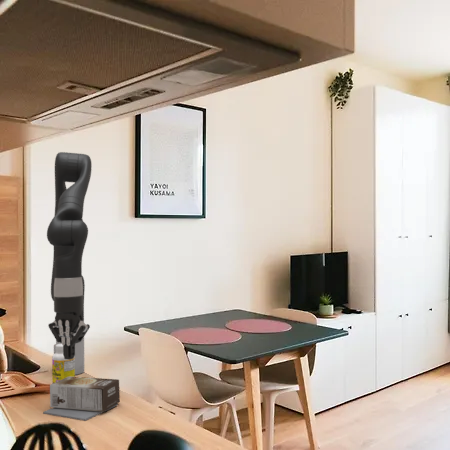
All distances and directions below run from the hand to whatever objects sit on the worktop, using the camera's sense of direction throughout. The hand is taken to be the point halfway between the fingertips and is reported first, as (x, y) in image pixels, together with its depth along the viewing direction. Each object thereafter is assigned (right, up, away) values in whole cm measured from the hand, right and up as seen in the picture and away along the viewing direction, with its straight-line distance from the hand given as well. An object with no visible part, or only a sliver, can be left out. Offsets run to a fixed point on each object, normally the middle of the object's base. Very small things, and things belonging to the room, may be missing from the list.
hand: (69, 358), depth 142 cm
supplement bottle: (-8, -14, +20) cm, 26 cm away
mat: (+4, -13, -2) cm, 14 cm away
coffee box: (-4, -10, +2) cm, 10 cm away
